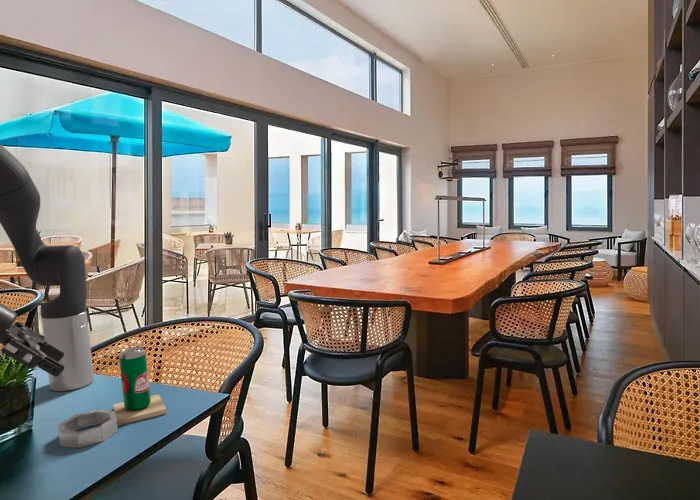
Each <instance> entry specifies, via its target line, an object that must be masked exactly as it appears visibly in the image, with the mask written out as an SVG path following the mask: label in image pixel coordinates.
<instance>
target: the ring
mask: <svg viewBox="0 0 700 500" xmlns="http://www.w3.org/2000/svg"><path fill="white" fill-rule="evenodd" d="M96 425H99V426H98V427H97V426H96ZM91 426H96V427H93V428H89V429H84V430H82V431H80V430H79V429H83V428H87V427H91ZM57 427H58V439H59V447H65V448H66V447H67V448H76V449H79V448H85V447H87V446H91V445H95V444H98V443H103V442H104V441H106V440H108V438H110V437H112V436H113V435H115V434H116V433H117V432H119V428H118V423H117V418H116V414H115V411H114V410H109V409H94V410H90V411H85V412H82V413H77V414H75V415H73V416H70V417H69V418H67V419H65V420H64V421H62V422H60V423H59V424H58V426H57ZM78 430H79V431H78Z"/></svg>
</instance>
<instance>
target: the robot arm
mask: <svg viewBox="0 0 700 500" xmlns="http://www.w3.org/2000/svg"><path fill="white" fill-rule="evenodd" d="M40 209H41V195H40V192H39V190H38V188H37V186H36V185H35V183H34V181H33V178H31V175H30V174H29V172H28V170H27V169H26V167H25V166H24V165H23V164H22V163H21V161H20V160H19V159H18V158H16V156H15V155H13V153H11V152H10V151H9V150H8V149H7V148H6V147H4V146H3V145H2V144H0V226H1V227H2V229H3V230H4V232H5V233H6V236H7V237H8V239H9V241H10V243H11V245H12V247H13V249H14V250H15V253H16V255H17V257H18V259H19V261H20V264H21V265H22V267H23V269H24V272H25V274H26V275H27V276H28V278H29V279H30V281H32V283H34V284H36V285H38V286H41V287H53V286H54V287H55V286H59V294H58V296H56V297H55V298H53V299H51V300H48V301H45V302H43V303H42V304H41V305H40V307H39V309H40V317H41V325H42V326H41V327H42V333H43V334H41V333H40V332H39V333H38V332H37V331H36V330H33V329H32V328H30V327H28V326H27V325H24V324H23V323H22V322H20V321H16V319H18V313H17V312H16V311H15V310H12V309H10V307H9V306H5V305H4V304H2V303H1V302H0V345H1V346H3V347H2V348H1V349H0V352H2V354H5V355H6V356H8V357H10V358H12V359H13V360H15V361H17V362H19V363H20V364H22V365H24V366H25V367H27V368H29V369H30V370H33V369H35V368H36V369H38V368H39V369H41V370H42V371H44V372H46V373H48V382H49V388H50V390H51V391H55V392H65V391H72V390H73V391H74V390H77V389H80V388H84V387H86V386H88V385H90V384H92V383H93V382H94V380H95V378H94V377H95V375H94V369H93V366H94V365H93V359H92V358H93V357H92V347H91V341H90V331H89V323H88V316H87V315H88V313H87V296H88V290H87V277H86V275H87V274H86V271H87V270H86V261H85V257H84V254H83V252H82V250H81V249H80V248H79V247H78V246H76V245H70V244H69V245H46V244H45V243H44V242H43V240H42V239H41V236H40V235H39V233H38V231H37V221H38V218H39V213H40ZM32 357H33V358H32Z"/></svg>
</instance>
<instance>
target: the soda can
mask: <svg viewBox="0 0 700 500" xmlns="http://www.w3.org/2000/svg"><path fill="white" fill-rule="evenodd" d="M147 358H148V357H147V352H145V348H144V347H141V346H133V347H128V348H125V349H122V350H121V351H120V355H119V356H118V359H119V369H120V371H119V372H120V380H121V389H122V391H121V392H122V398H123V402H124V407H125V408H126V409H127V410H129V411H138V410H142V409H144V408H146V407H148V406H149V404H150V402H151V397H150V396H151V391H150V380H149V379H150V378H149V369H148V359H147Z"/></svg>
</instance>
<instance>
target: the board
mask: <svg viewBox="0 0 700 500" xmlns="http://www.w3.org/2000/svg"><path fill="white" fill-rule="evenodd" d="M150 397H151V402H150V404H149V406H148V407H146V408H144V409H142V410H138V411H129V410H127V409H126V408H125V407H124V401H121V402H116V403H114V404H112V406H113V411H115V414H116V418H117V426H122V425H127V424H130V423H134V422H139V421H142V420H146V419H150V418H154V417H158V416H162V415H165V414H167V413H168V412H167V411H168V410H167V408H166V405H165V404H164V401H163V399H162V398H161V396H160V394H159V393H157V394H152V395H151V394H150Z"/></svg>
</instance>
